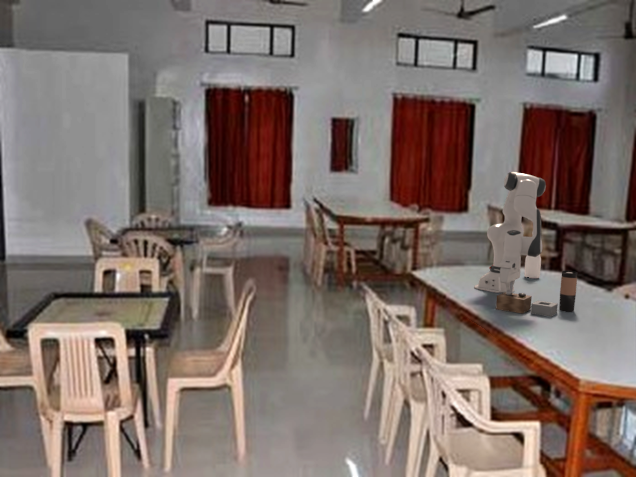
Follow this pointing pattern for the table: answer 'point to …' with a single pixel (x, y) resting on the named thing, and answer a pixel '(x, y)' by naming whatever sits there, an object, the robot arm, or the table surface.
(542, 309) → the grey square ring block
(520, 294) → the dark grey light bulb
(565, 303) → the travel mug
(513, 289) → the robot arm
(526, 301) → the socket block
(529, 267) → the wine bottle
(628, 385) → the table surface
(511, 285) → the grey tapered rounded rod
